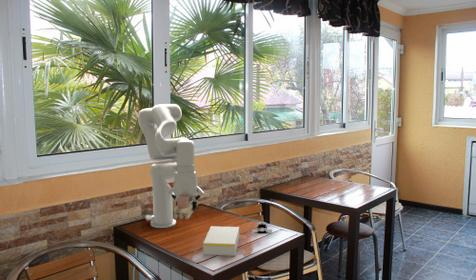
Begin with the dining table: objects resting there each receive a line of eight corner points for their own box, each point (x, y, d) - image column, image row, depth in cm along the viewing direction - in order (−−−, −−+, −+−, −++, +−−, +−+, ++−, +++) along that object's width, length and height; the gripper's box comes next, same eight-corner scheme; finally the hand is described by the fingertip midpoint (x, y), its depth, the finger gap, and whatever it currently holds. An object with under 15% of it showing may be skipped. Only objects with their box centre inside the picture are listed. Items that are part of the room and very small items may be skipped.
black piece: (248, 234, 187) (248, 225, 186) (249, 229, 194) (249, 220, 194) (275, 235, 186) (275, 226, 185) (275, 229, 193) (275, 220, 193)
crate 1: (177, 207, 165) (177, 198, 165) (179, 204, 169) (179, 195, 169) (186, 208, 165) (186, 198, 164) (189, 205, 169) (188, 196, 168)
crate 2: (183, 200, 176) (183, 191, 176) (185, 197, 180) (185, 189, 180) (192, 200, 176) (192, 191, 176) (194, 197, 180) (194, 189, 180)
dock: (203, 254, 163) (203, 243, 162) (211, 236, 183) (210, 226, 183) (234, 255, 162) (234, 244, 161) (239, 237, 182) (239, 227, 181)
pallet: (173, 218, 164) (173, 209, 163) (185, 204, 183) (184, 196, 183) (188, 219, 163) (187, 209, 163) (197, 205, 183) (197, 196, 182)
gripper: (163, 170, 168) (164, 211, 170) (203, 171, 166) (204, 212, 168) (168, 166, 175) (169, 206, 178) (207, 167, 174) (207, 207, 176)
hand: (186, 209), depth 173 cm, fingers closed on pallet, 6 cm apart
